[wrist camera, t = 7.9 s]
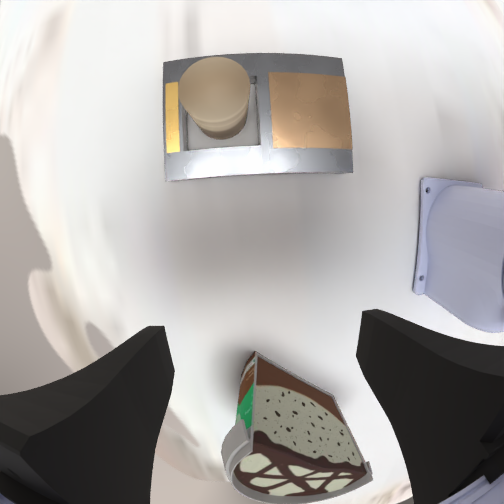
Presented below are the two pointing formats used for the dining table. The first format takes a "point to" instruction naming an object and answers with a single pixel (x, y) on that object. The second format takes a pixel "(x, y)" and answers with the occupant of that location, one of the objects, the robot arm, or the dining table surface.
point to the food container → (289, 440)
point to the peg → (216, 96)
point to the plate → (269, 120)
